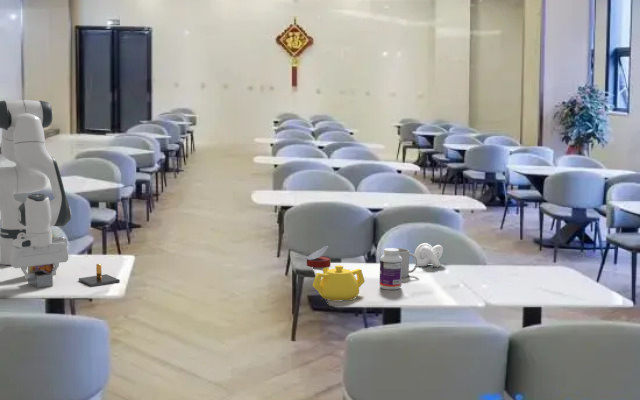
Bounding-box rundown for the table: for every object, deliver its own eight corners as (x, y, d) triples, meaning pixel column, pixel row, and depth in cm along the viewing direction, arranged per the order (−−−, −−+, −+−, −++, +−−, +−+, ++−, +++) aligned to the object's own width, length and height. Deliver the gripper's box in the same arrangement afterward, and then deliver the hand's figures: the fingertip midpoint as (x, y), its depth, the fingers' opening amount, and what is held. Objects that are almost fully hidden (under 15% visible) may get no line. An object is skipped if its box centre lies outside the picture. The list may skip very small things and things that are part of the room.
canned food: (324, 279, 333) (321, 260, 327) (303, 273, 337) (299, 254, 332) (337, 262, 340) (334, 243, 335) (317, 256, 345) (313, 238, 339)
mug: (381, 274, 321) (381, 249, 319) (396, 271, 327) (397, 246, 326) (402, 279, 313) (403, 254, 312) (418, 276, 320) (419, 250, 318)
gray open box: (28, 283, 299) (27, 271, 298) (43, 281, 302) (42, 269, 302) (37, 288, 292) (37, 276, 291) (52, 286, 295) (52, 274, 295)
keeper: (78, 280, 304) (78, 263, 303) (106, 276, 311) (106, 260, 310) (91, 286, 295) (91, 269, 294) (119, 282, 302) (119, 265, 301)
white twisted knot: (429, 261, 347) (430, 240, 346) (450, 266, 337) (451, 245, 336) (410, 264, 340) (411, 243, 339) (431, 270, 331) (431, 248, 329)
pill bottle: (383, 284, 306) (384, 246, 304) (403, 286, 303) (405, 248, 301) (376, 289, 298) (377, 250, 296) (397, 291, 295) (398, 252, 293)
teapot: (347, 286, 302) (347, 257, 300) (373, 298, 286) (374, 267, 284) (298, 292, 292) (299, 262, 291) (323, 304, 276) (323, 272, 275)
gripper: (63, 235, 304) (64, 271, 305) (7, 241, 291) (9, 279, 292) (70, 237, 299) (71, 274, 301) (14, 243, 286) (15, 282, 288)
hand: (40, 277), depth 296 cm, fingers open, 8 cm apart
